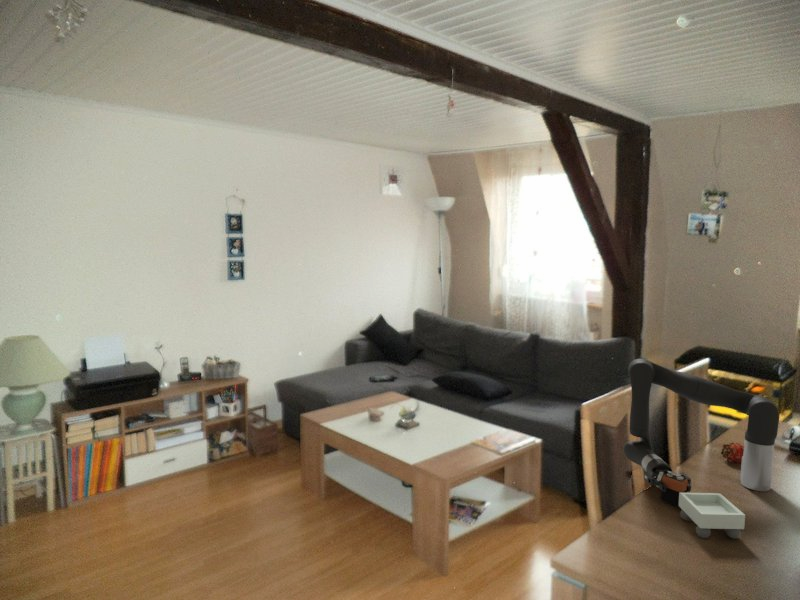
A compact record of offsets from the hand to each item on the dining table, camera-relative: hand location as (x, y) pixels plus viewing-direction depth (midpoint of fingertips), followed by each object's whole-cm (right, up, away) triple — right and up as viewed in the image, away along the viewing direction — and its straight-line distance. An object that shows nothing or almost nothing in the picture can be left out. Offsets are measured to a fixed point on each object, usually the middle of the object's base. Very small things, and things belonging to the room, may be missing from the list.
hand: (677, 489), depth 185 cm
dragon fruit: (+44, -3, +42) cm, 61 cm away
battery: (0, -6, +3) cm, 7 cm away
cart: (+4, -9, -11) cm, 15 cm away
